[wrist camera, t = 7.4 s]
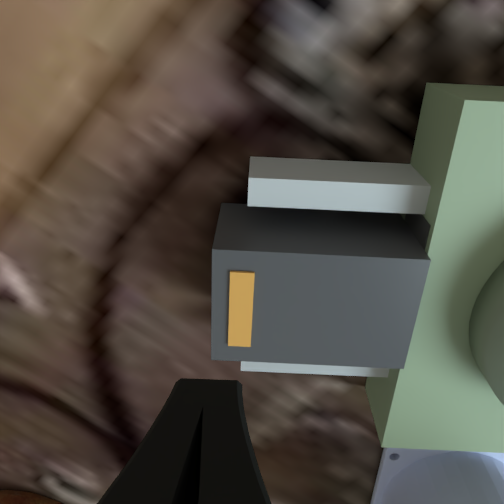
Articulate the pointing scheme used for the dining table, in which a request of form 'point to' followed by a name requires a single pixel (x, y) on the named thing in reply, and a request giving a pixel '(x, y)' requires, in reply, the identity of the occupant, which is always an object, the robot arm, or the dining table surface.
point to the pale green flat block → (440, 270)
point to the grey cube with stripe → (314, 286)
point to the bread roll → (23, 498)
